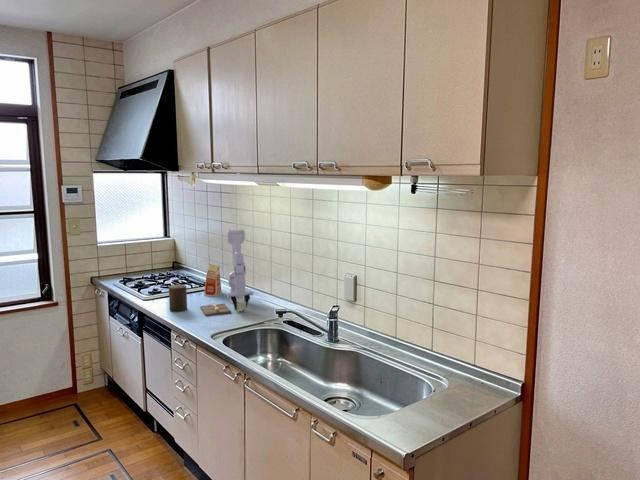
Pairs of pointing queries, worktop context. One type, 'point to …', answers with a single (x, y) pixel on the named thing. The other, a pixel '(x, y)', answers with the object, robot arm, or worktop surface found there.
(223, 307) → the cleat board
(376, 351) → the worktop surface
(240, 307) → the saddle block
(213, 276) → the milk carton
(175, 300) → the pillar candle
